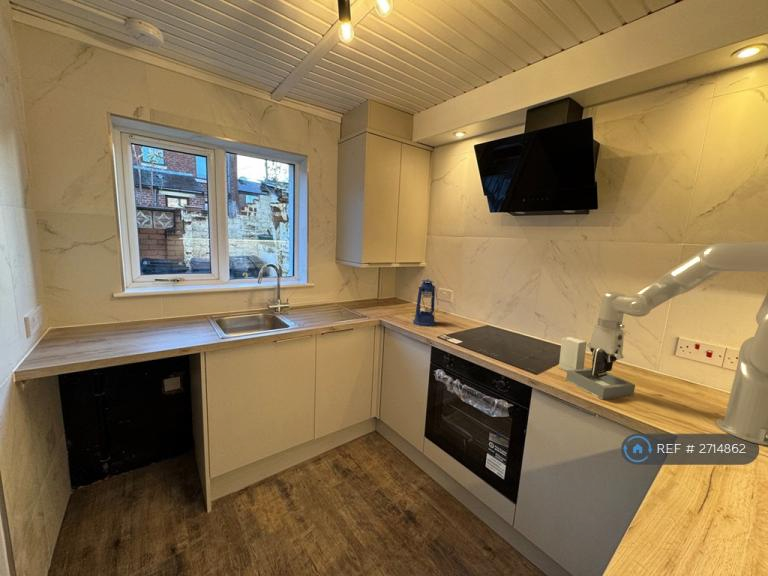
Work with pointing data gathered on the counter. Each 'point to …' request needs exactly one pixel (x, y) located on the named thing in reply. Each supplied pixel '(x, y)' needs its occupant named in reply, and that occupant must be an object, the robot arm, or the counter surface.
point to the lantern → (426, 314)
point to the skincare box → (572, 354)
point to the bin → (600, 384)
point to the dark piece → (599, 363)
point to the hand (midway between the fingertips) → (601, 367)
